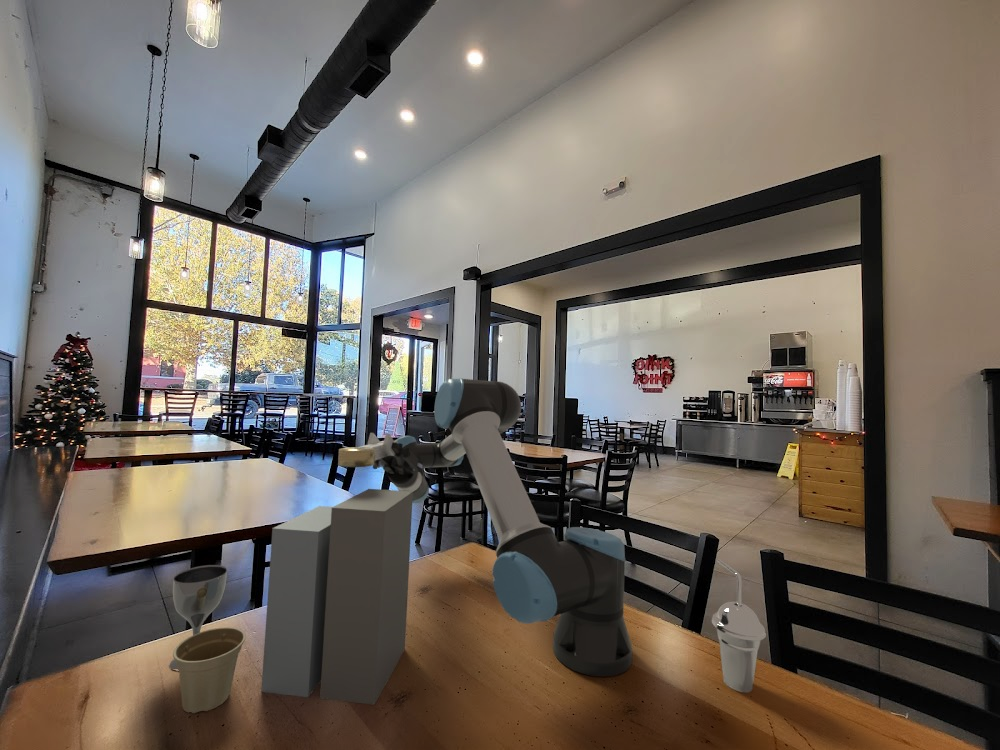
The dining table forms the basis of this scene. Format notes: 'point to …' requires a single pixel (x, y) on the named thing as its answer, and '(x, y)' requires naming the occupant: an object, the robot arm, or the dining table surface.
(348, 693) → the tall stand
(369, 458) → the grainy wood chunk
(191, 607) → the wine glass
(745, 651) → the cup with straw
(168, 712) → the dining table surface
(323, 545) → the short stand
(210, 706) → the flower pot
